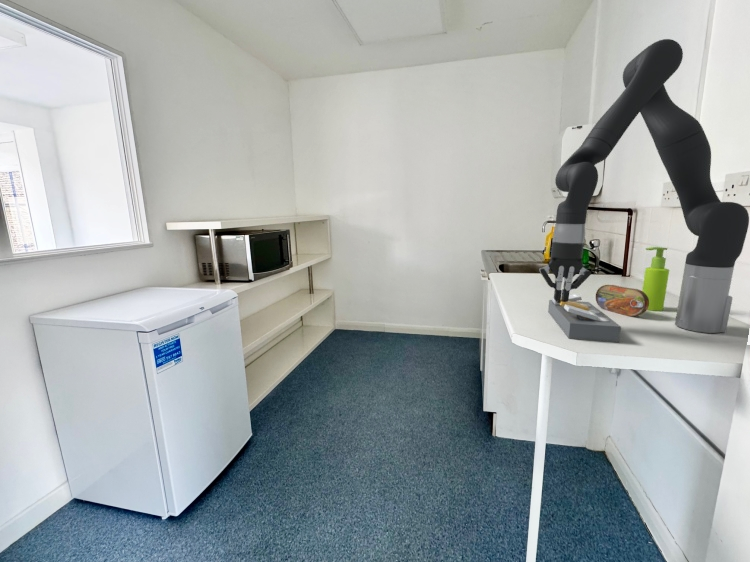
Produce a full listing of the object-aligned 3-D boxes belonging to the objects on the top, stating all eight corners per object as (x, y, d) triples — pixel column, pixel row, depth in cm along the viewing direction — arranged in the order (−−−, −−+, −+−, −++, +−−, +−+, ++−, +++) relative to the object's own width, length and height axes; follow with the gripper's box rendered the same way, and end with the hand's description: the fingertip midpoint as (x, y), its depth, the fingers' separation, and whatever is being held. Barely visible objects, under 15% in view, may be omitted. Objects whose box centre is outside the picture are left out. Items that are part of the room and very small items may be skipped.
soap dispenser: (632, 306, 114) (640, 246, 110) (653, 306, 114) (662, 246, 110) (645, 311, 109) (654, 248, 105) (667, 311, 108) (678, 248, 104)
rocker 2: (583, 307, 96) (584, 304, 96) (588, 311, 93) (589, 308, 92) (557, 302, 98) (558, 298, 98) (560, 305, 94) (561, 301, 94)
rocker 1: (577, 296, 103) (577, 293, 102) (581, 300, 99) (581, 296, 99) (552, 301, 105) (551, 297, 105) (555, 304, 101) (554, 301, 101)
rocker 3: (591, 315, 90) (593, 312, 90) (596, 320, 86) (598, 316, 86) (563, 307, 91) (565, 303, 91) (567, 311, 87) (569, 307, 87)
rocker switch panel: (587, 314, 106) (588, 299, 105) (618, 342, 83) (621, 323, 82) (548, 312, 108) (549, 297, 108) (568, 338, 86) (570, 320, 85)
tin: (593, 307, 114) (596, 282, 112) (600, 306, 115) (603, 281, 113) (641, 319, 100) (645, 291, 99) (648, 318, 101) (653, 290, 100)
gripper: (591, 240, 94) (583, 301, 98) (538, 238, 98) (532, 297, 101) (601, 242, 87) (591, 308, 91) (543, 241, 91) (536, 304, 94)
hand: (560, 302), depth 96 cm, fingers closed
